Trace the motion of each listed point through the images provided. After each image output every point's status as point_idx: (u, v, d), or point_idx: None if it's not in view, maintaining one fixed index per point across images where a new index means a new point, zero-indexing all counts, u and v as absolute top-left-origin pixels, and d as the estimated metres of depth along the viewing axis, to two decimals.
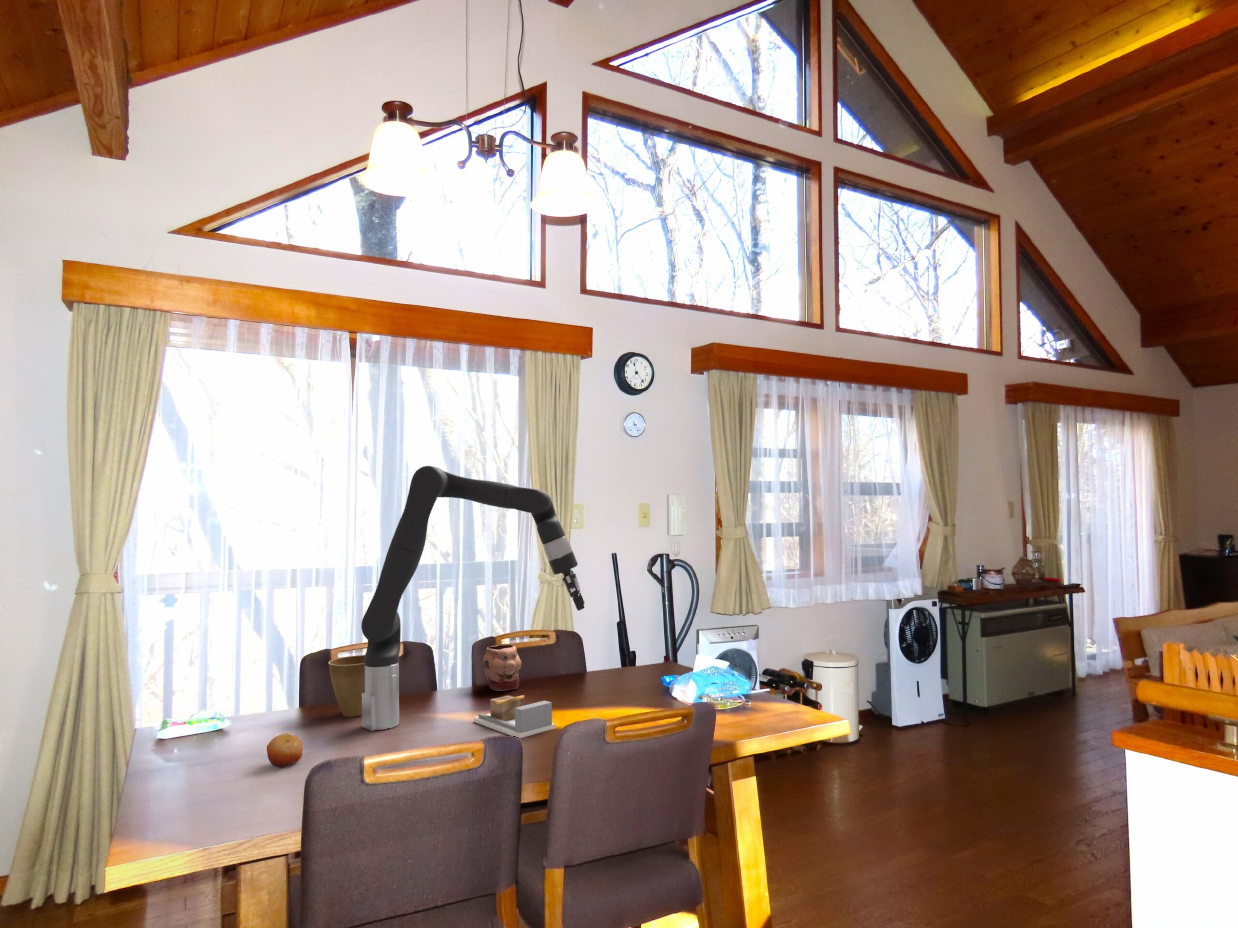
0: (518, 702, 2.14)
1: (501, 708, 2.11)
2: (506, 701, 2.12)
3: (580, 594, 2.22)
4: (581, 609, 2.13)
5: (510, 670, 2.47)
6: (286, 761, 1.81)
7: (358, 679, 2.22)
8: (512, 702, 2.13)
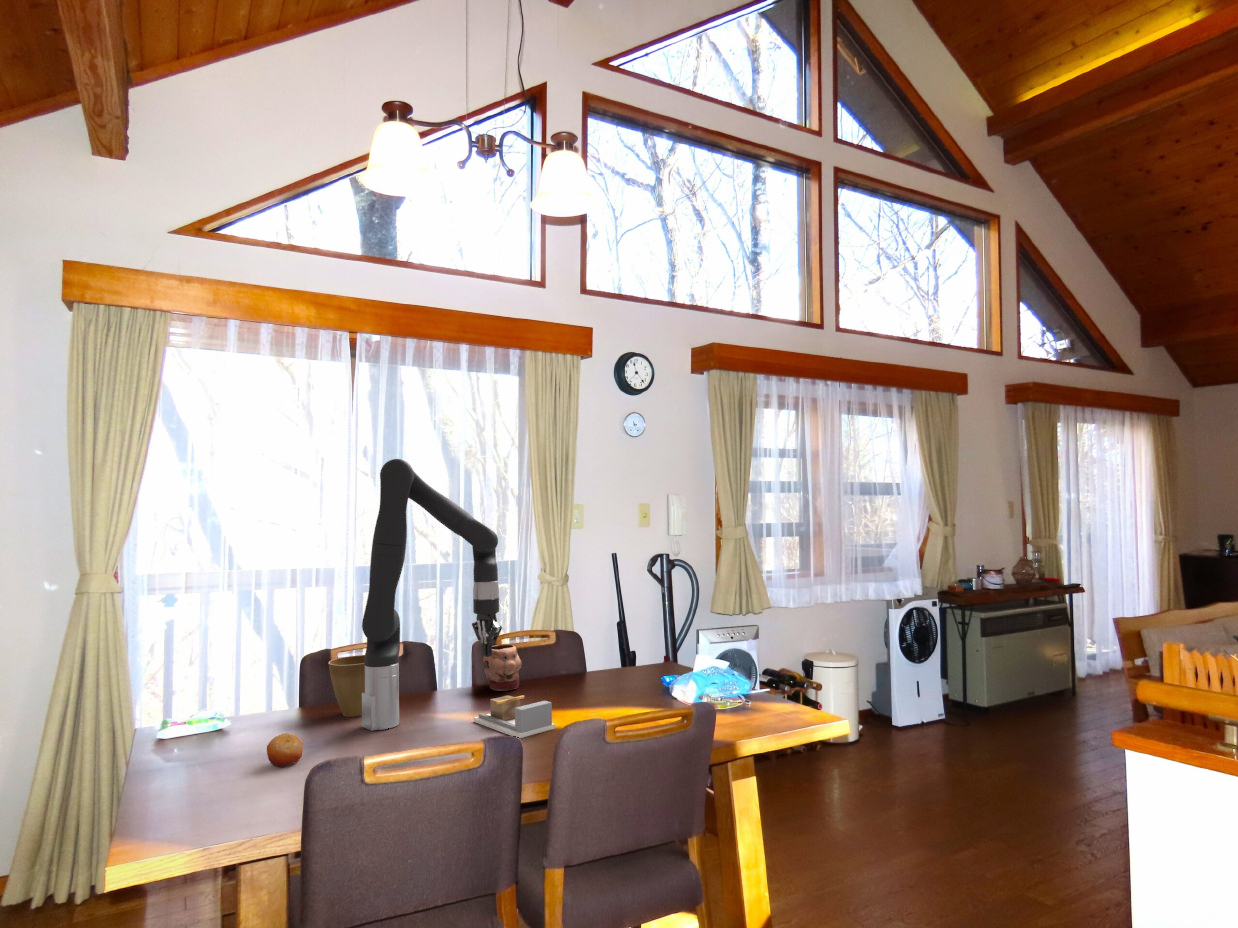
0: (518, 702, 2.14)
1: (501, 708, 2.11)
2: (506, 701, 2.12)
3: None
4: (488, 656, 2.22)
5: (510, 670, 2.47)
6: (286, 761, 1.81)
7: (358, 679, 2.22)
8: (512, 702, 2.13)
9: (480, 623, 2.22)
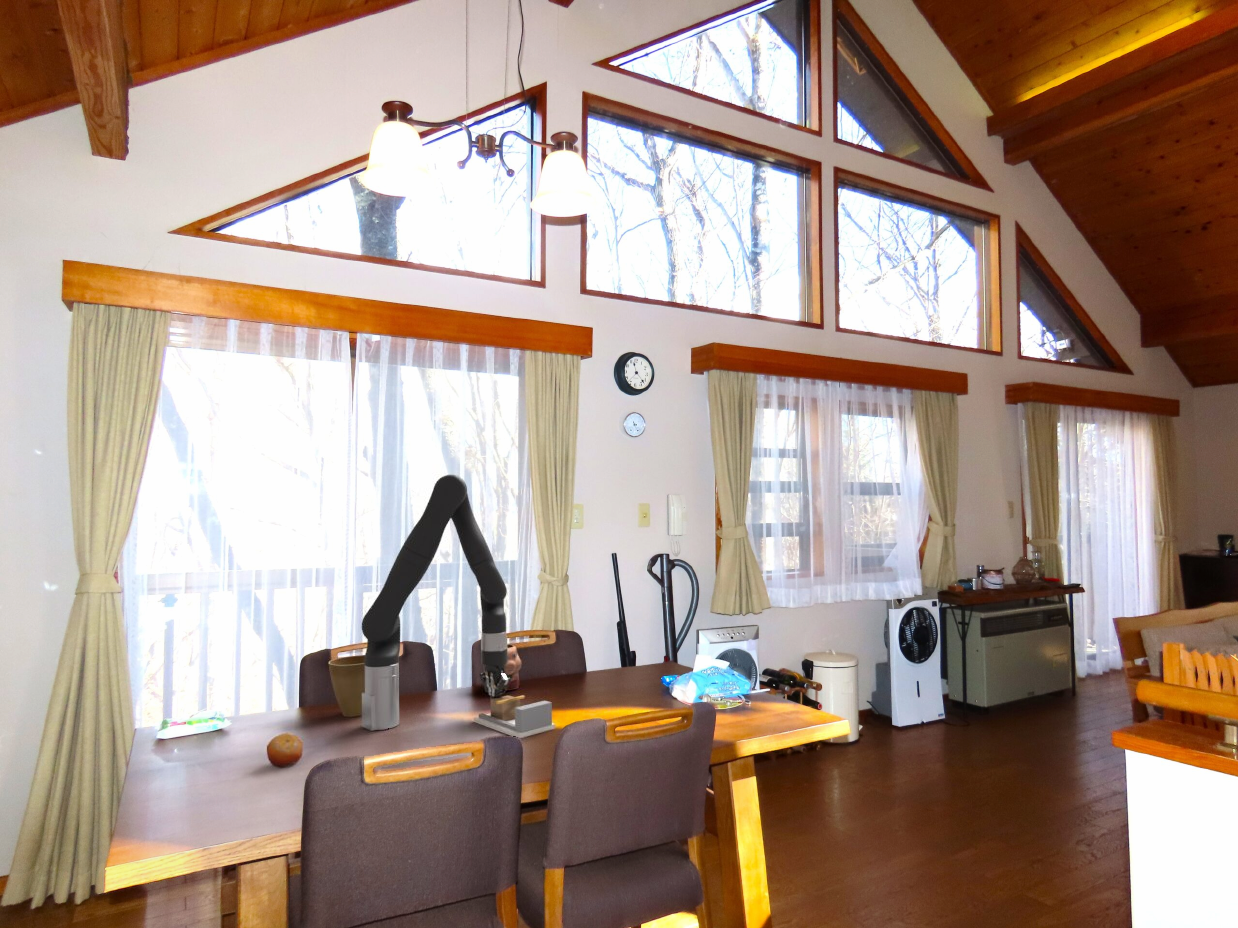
0: (518, 702, 2.14)
1: (501, 708, 2.11)
2: (506, 701, 2.12)
3: None
4: None
5: (510, 670, 2.47)
6: (286, 761, 1.81)
7: (358, 679, 2.22)
8: (512, 703, 2.13)
9: (488, 674, 2.19)
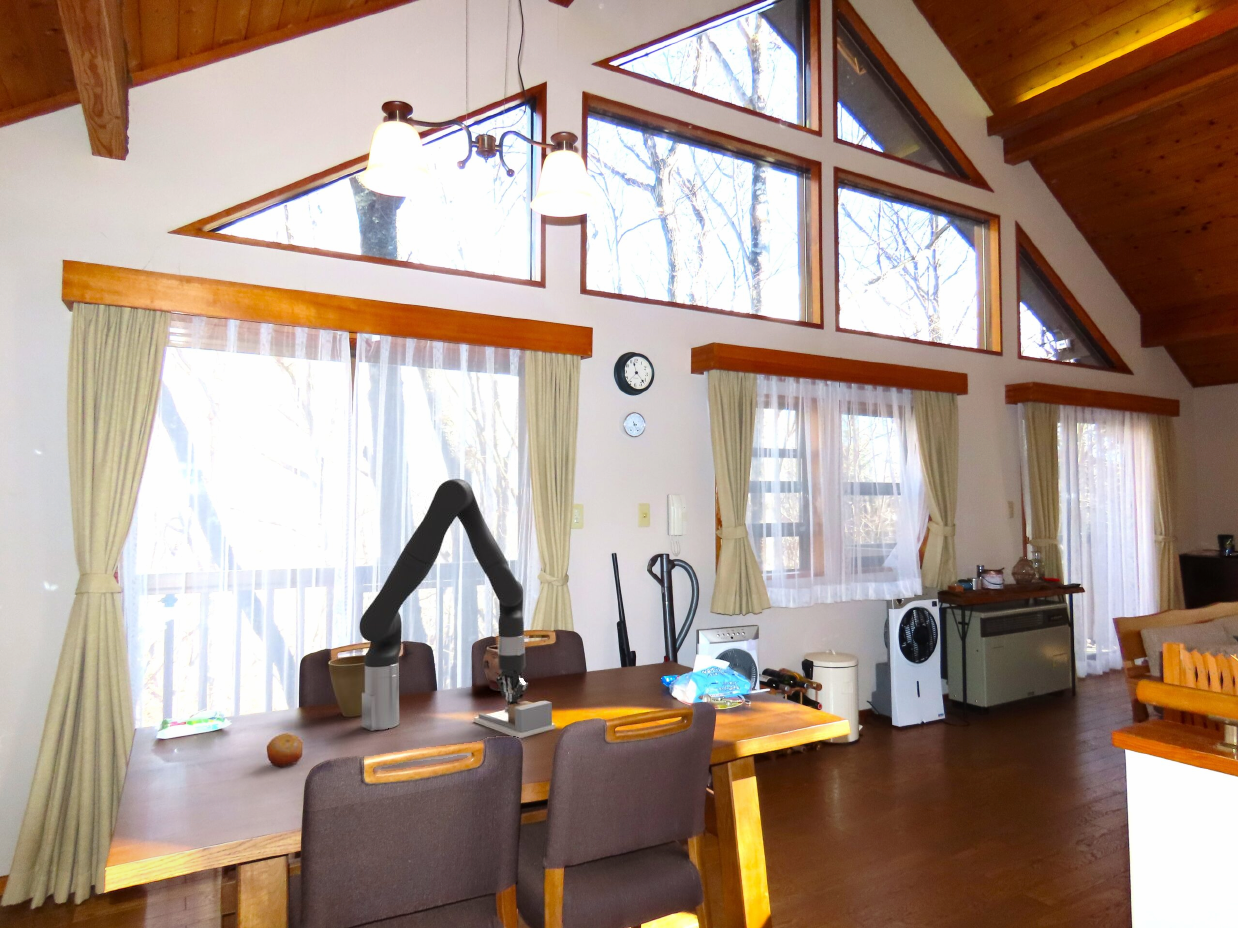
0: None
1: None
2: None
3: None
4: None
5: None
6: (286, 761, 1.81)
7: (358, 679, 2.22)
8: None
9: (505, 679, 2.12)
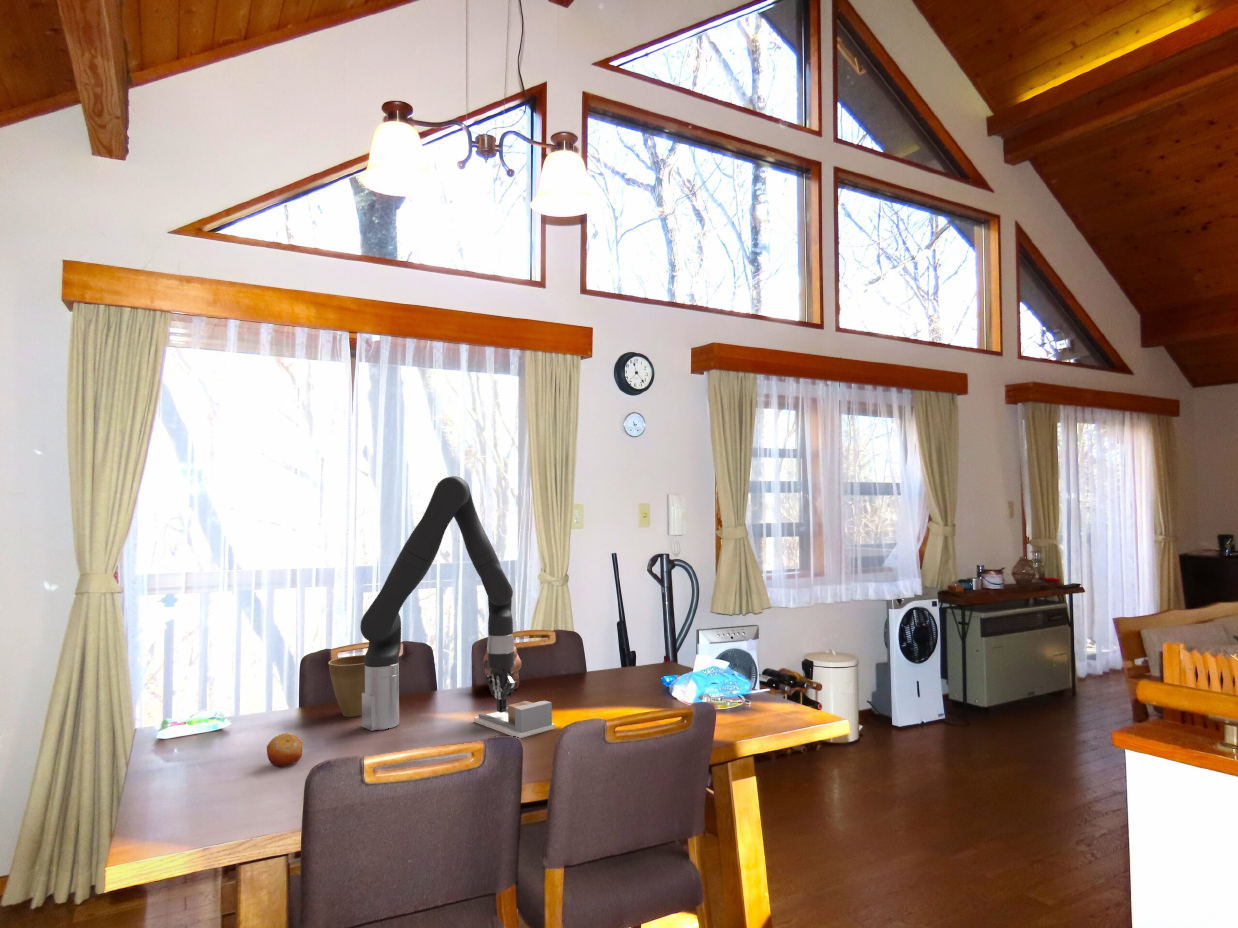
0: None
1: None
2: None
3: None
4: None
5: None
6: (286, 761, 1.81)
7: (358, 679, 2.22)
8: None
9: (494, 677, 2.16)
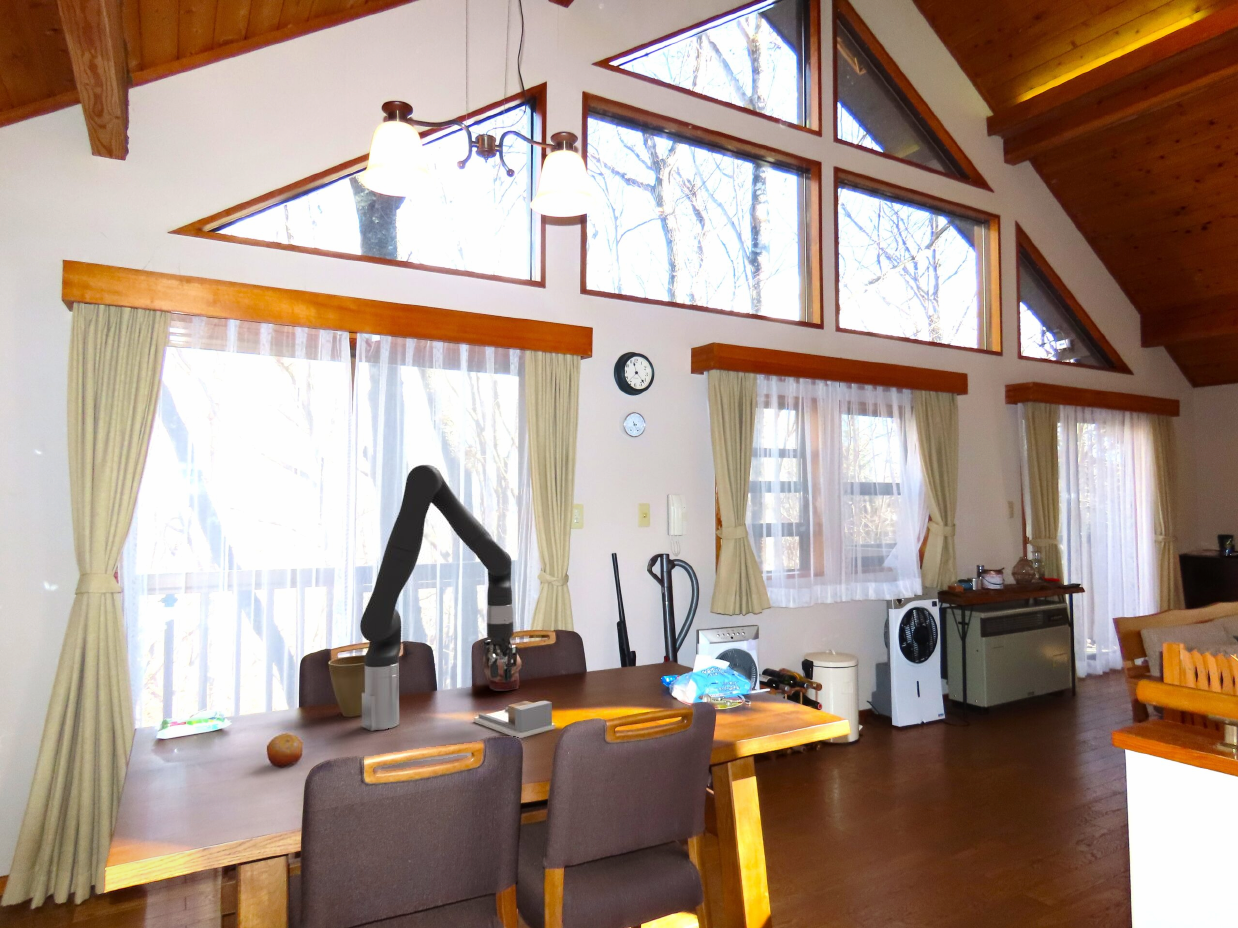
0: None
1: None
2: None
3: (497, 666, 2.20)
4: (508, 681, 2.14)
5: None
6: (286, 761, 1.81)
7: (358, 679, 2.22)
8: None
9: (493, 648, 2.17)
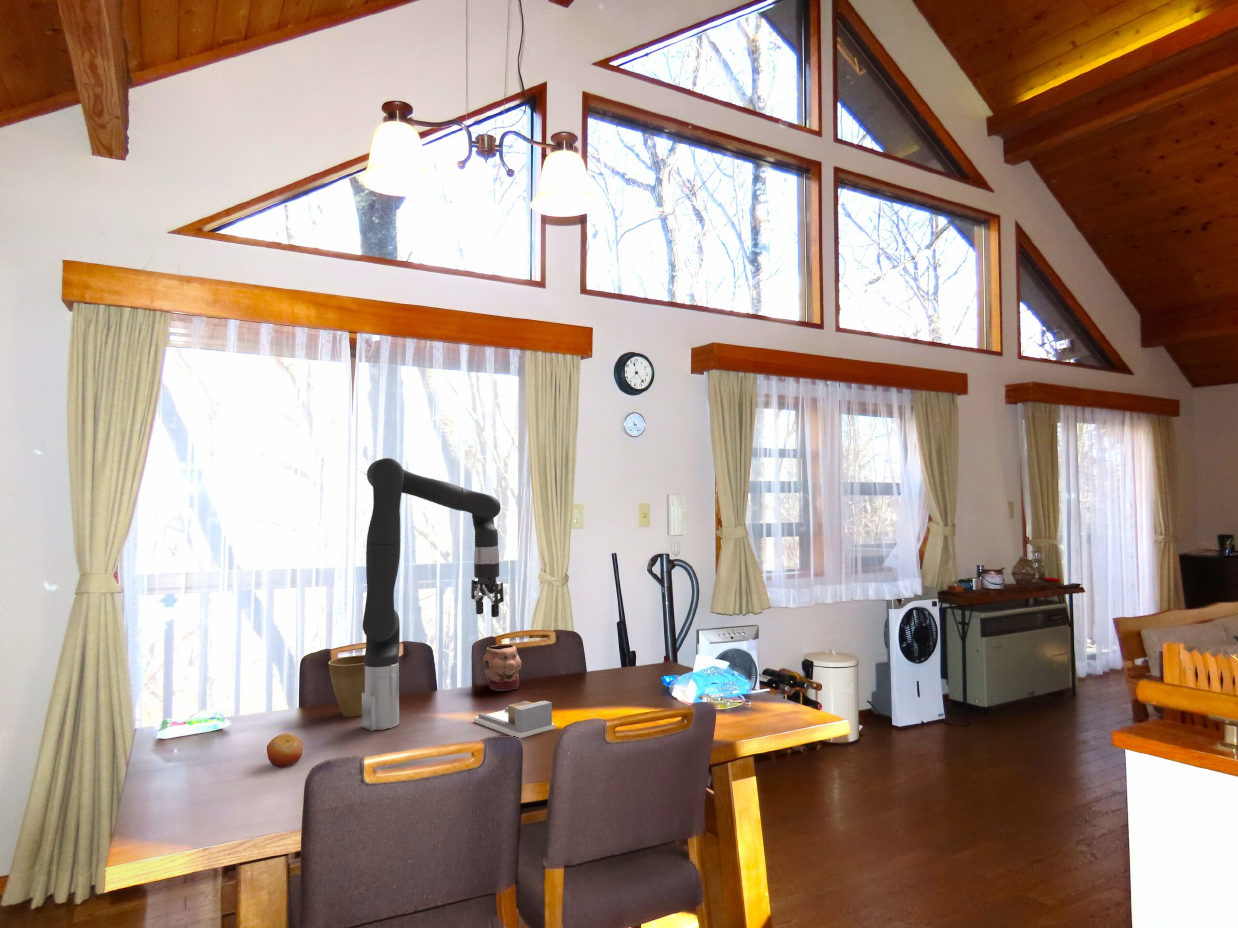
0: None
1: None
2: None
3: (482, 603, 2.33)
4: (495, 616, 2.26)
5: (510, 670, 2.47)
6: (286, 761, 1.81)
7: (358, 679, 2.22)
8: None
9: (480, 588, 2.30)
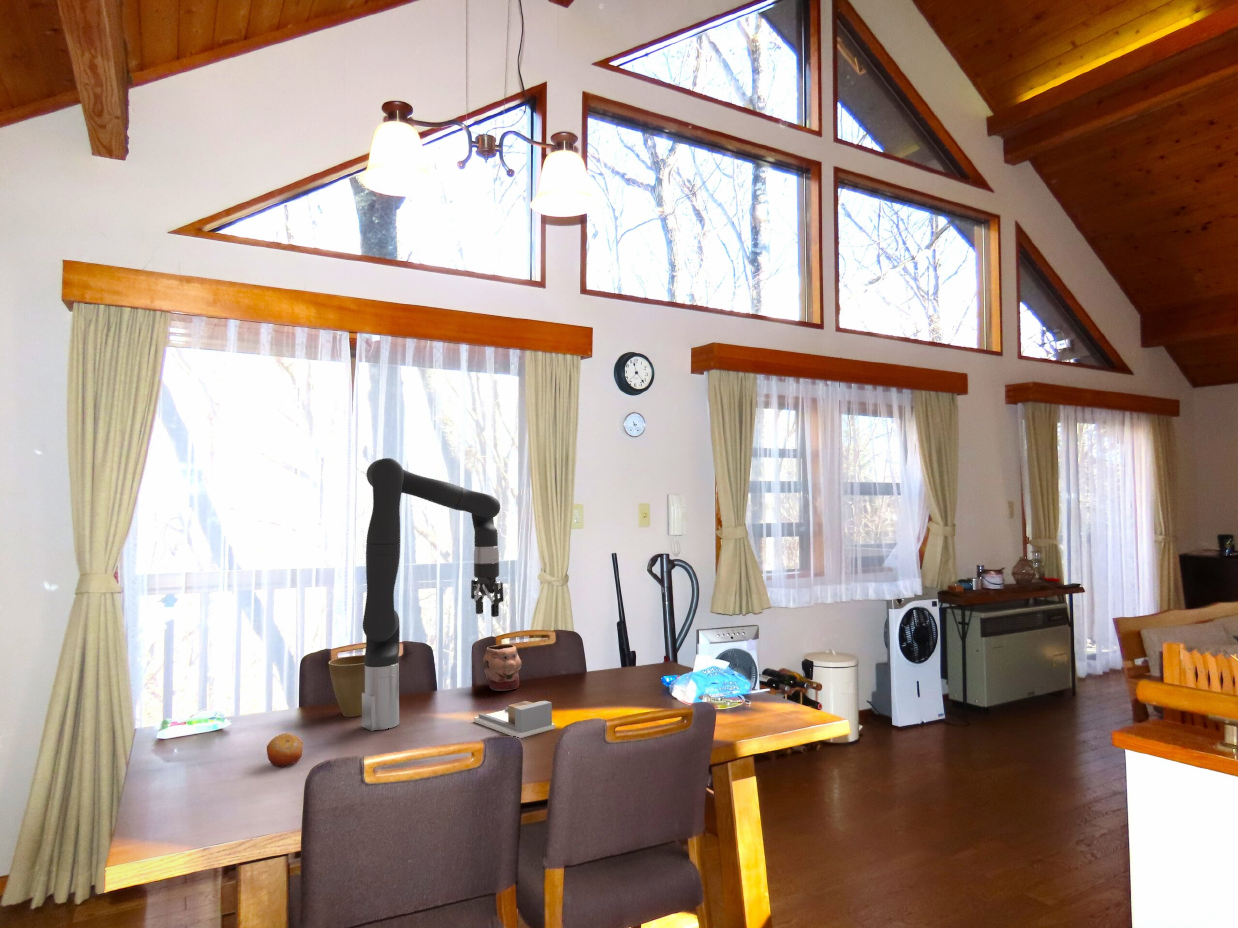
0: None
1: None
2: None
3: (482, 603, 2.33)
4: (495, 616, 2.26)
5: (510, 670, 2.47)
6: (286, 761, 1.81)
7: (358, 679, 2.22)
8: None
9: (480, 587, 2.30)
